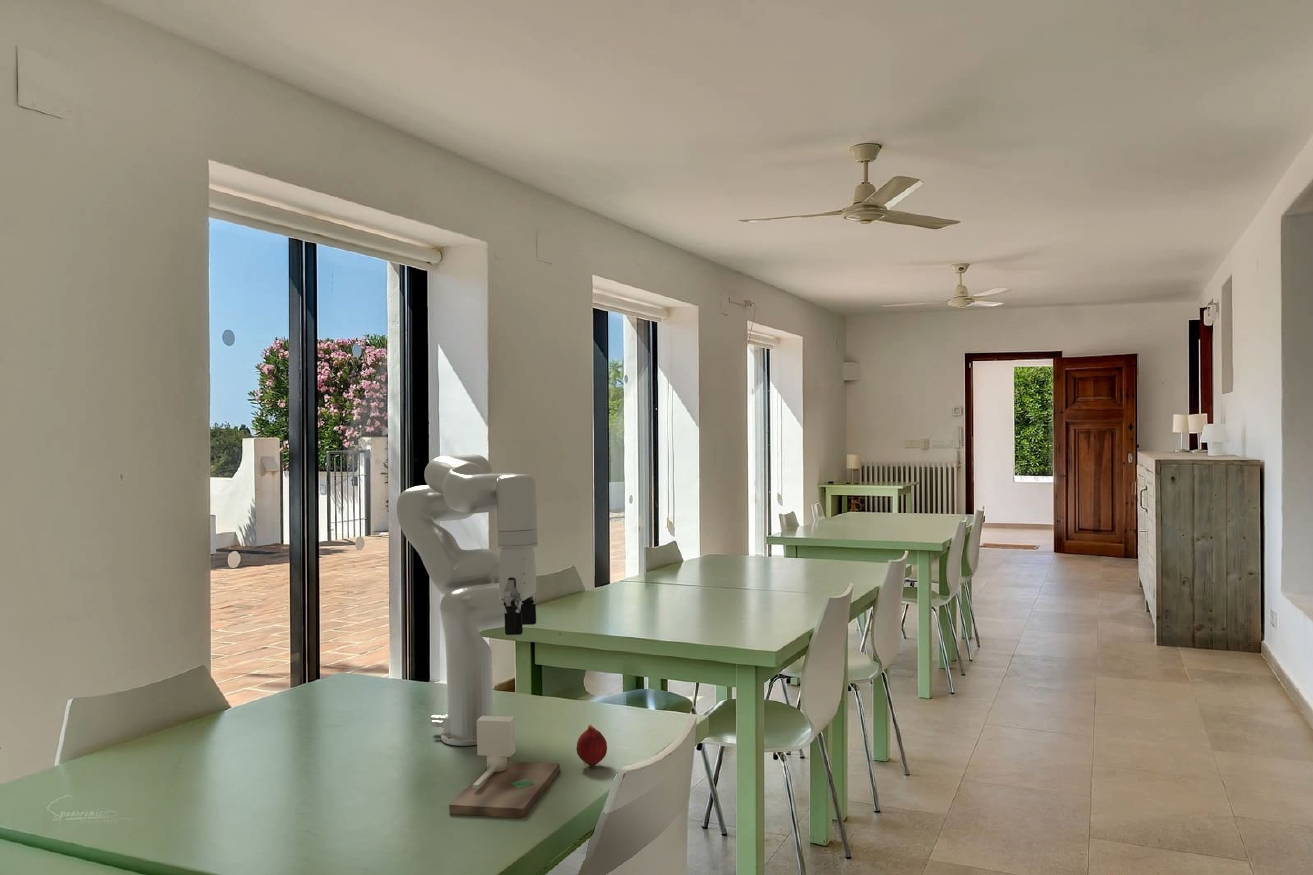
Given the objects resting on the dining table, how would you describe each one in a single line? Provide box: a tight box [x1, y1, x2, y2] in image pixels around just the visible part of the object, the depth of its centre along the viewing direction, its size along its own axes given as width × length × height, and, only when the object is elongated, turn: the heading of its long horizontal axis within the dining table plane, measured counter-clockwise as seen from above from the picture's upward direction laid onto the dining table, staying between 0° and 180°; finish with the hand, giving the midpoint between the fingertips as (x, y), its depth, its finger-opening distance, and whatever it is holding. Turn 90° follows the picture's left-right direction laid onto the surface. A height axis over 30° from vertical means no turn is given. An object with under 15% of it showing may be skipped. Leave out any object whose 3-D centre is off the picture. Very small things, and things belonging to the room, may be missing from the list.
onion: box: [575, 723, 608, 768], centre depth 173 cm, size 6×6×8 cm
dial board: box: [448, 760, 561, 819], centre depth 162 cm, size 13×21×2 cm, turn 169°
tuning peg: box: [473, 715, 517, 788], centre depth 164 cm, size 12×6×9 cm, turn 169°
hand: (521, 629), depth 173 cm, fingers open, 9 cm apart
